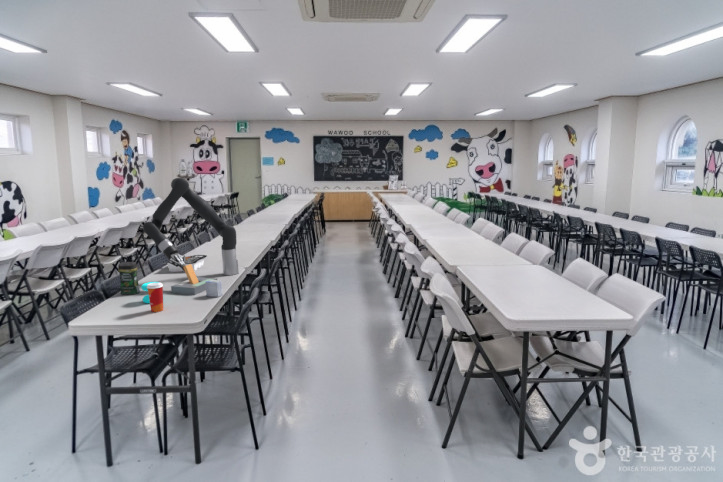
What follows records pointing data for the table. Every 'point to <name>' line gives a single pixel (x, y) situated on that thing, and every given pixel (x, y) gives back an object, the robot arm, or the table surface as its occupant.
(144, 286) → the donuts
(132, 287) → the coffee jar
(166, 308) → the table surface
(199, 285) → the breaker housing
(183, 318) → the table surface
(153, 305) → the paper cup
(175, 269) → the food packaging
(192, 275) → the breaker lever
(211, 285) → the medicine box
